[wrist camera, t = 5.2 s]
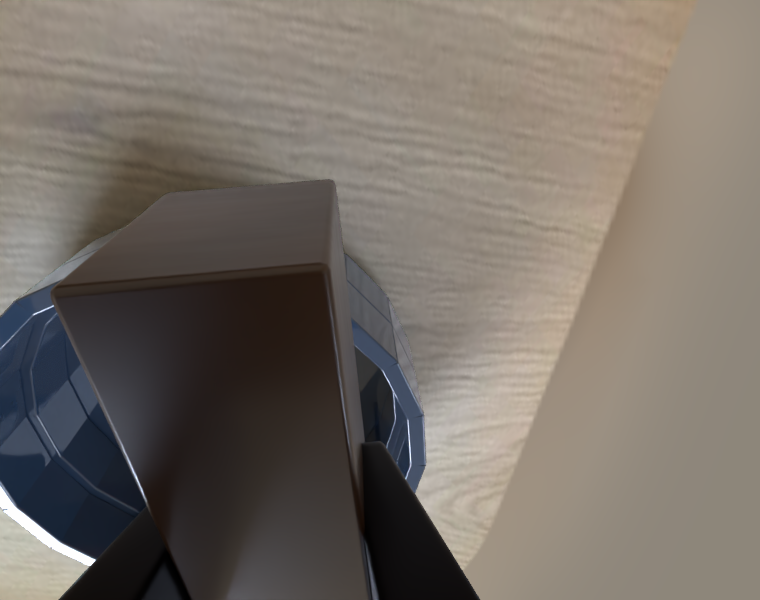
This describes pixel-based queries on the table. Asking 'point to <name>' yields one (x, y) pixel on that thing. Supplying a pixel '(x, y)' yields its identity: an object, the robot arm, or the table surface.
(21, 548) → the table surface
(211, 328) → the dark brown block
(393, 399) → the bowl
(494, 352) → the table surface
